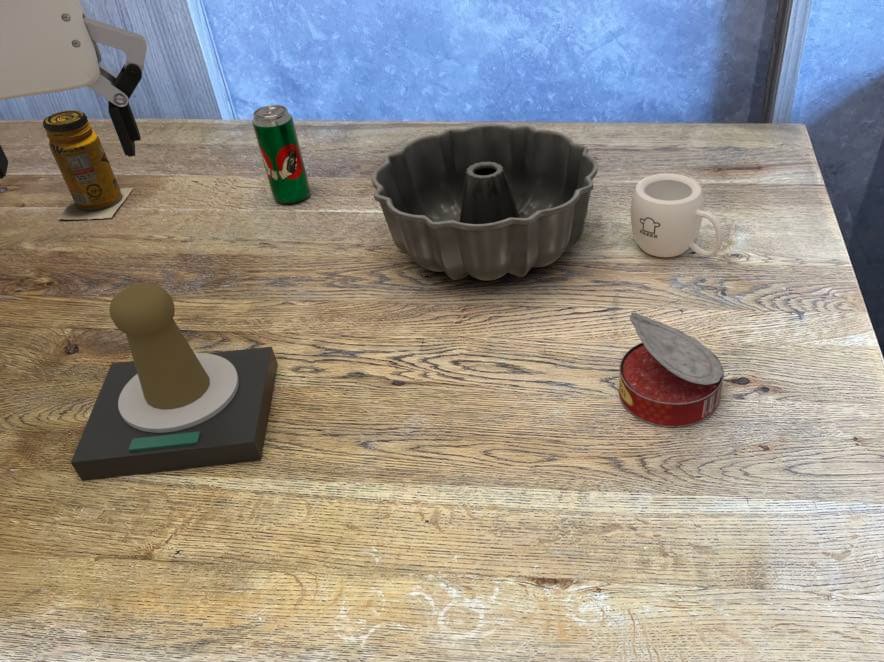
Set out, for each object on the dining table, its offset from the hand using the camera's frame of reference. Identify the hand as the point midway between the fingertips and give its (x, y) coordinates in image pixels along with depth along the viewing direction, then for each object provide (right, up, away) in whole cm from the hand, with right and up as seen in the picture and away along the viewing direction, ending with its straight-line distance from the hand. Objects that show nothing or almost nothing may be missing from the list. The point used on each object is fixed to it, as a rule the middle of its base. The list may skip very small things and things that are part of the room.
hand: (67, 160), depth 66 cm
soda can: (+4, +9, +46) cm, 47 cm away
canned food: (+51, -19, +14) cm, 56 cm away
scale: (+4, -21, +13) cm, 25 cm away
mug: (+55, -1, +33) cm, 64 cm away
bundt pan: (+32, 0, +36) cm, 48 cm away
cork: (+4, -18, +12) cm, 22 cm away
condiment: (-23, +8, +47) cm, 52 cm away
